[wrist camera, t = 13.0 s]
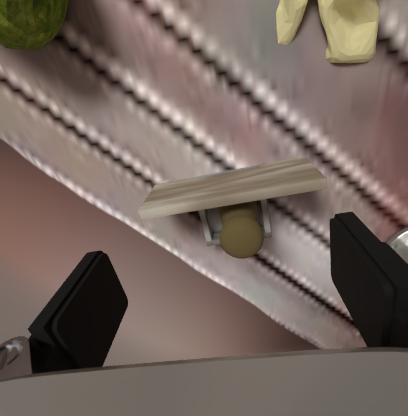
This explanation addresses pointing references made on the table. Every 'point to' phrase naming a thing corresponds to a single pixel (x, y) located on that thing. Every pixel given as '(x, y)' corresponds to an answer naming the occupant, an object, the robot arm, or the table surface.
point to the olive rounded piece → (240, 229)
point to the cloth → (335, 27)
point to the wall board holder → (233, 192)
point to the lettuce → (30, 22)
